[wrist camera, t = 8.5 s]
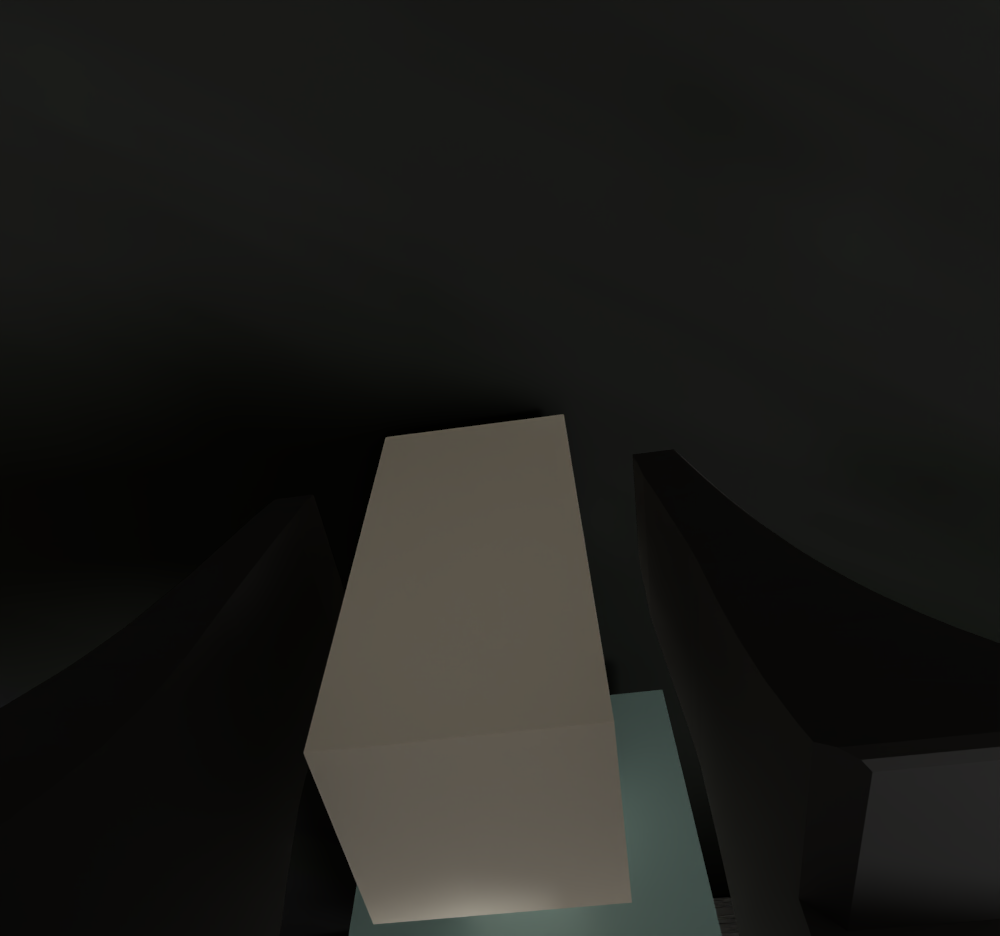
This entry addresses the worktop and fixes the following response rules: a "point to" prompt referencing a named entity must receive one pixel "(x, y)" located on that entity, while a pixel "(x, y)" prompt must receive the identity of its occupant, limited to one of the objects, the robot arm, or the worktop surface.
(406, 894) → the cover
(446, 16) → the worktop surface
